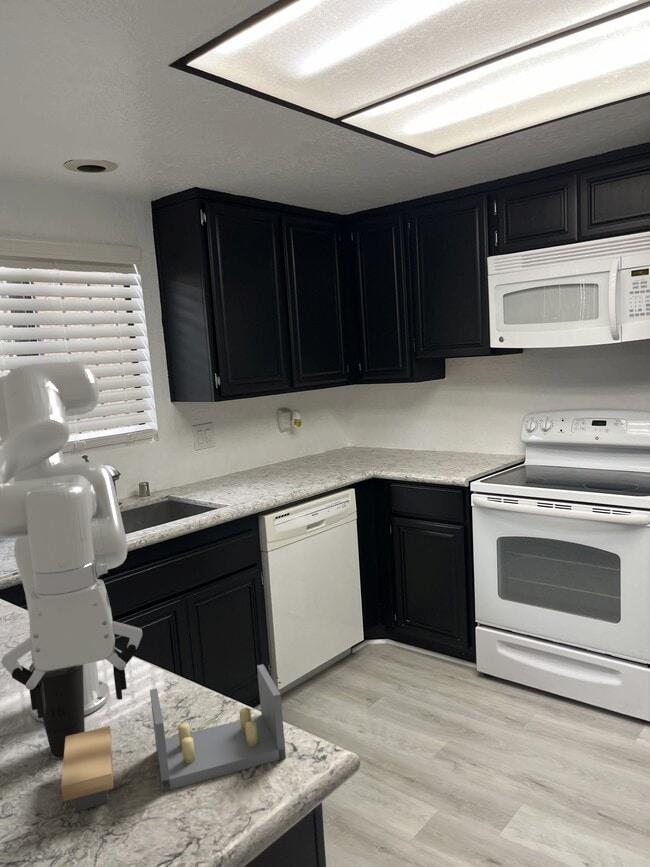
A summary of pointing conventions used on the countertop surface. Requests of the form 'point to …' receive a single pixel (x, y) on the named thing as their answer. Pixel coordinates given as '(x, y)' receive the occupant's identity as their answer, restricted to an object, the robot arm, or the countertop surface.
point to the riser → (90, 800)
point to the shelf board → (87, 763)
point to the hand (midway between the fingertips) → (81, 704)
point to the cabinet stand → (221, 741)
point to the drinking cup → (63, 706)
